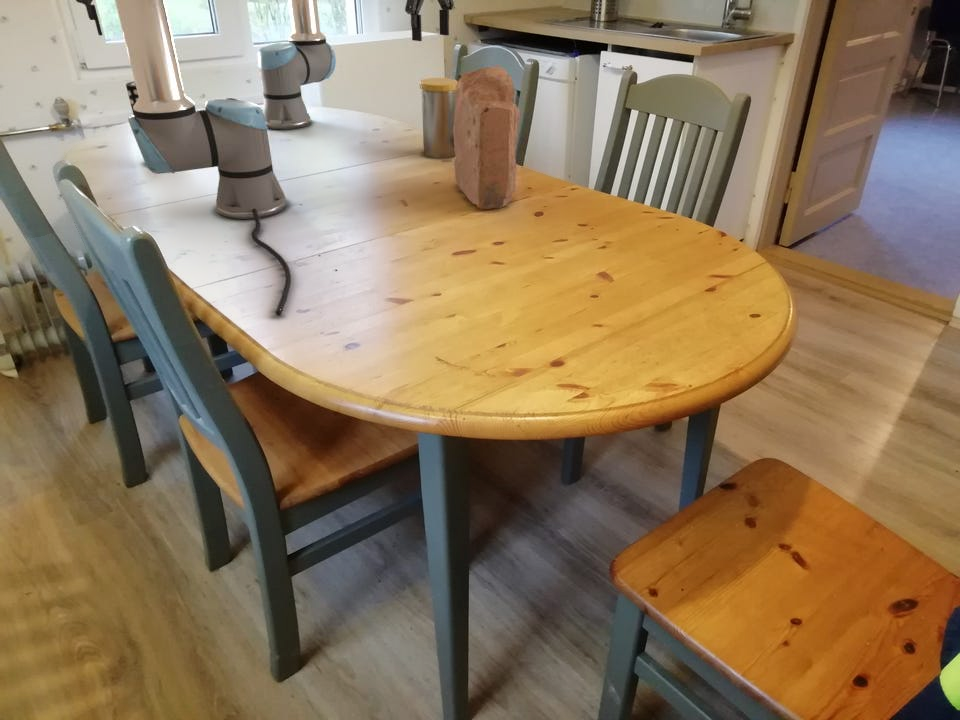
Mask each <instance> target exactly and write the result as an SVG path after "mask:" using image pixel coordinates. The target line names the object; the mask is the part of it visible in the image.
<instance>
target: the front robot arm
mask: <svg viewBox="0 0 960 720" xmlns="http://www.w3.org/2000/svg"><path fill="white" fill-rule="evenodd" d="M75 1H76V2H77V3H79V4H82V5H84V6H85V9H86V12H87V13H86V14H87V16H88V18H89V20H90V21H94V23H95V27H96V31H97V34H98V36H100V37H101V36H103V32H102V28H101V24H100V20H99V16H98V13H97V9H96V6H95V4H92V2H93V1H94V0H75ZM165 1H166V0H114V2H115V6H116V10H117V14H118V19H119V23H120V26H121V31H122V35H123V39H124V42H125V46H126V51H127V55H128V59H129V63H130V67H131V72H132V75H133V76H132V77H133V79H134V80H133V81H135V84H136V88H137V92H138V96H139V98H138V100H137V102H136V103H135V104H134V106H133V110H134V114H135V116H134V115H131V116H129V117H128V119H127V121H128V123H129V126H130V128H131V131H132V134H133V137H134V139H135V142H136V144H137V147H138V149H139V151H140V153H141V156H142V159H143V161H144V163H145V165H146V168H147V169H148V170H149V171H150V172H151V173H153V174H158V175H161V174H170V173H171V174H176V173H179V172H186V171H187V172H188V171H195V170H201V169H202V170H203V169H208V168H215V167H217V169H218V170H217V172H218V185H217V193H216V201H215V203H216V204H215V206H216V210H217V213H218V214H219V215H221V216H223V217H225V218H229V219H236V220H253V219H254V222H255V227H254V229H253V231H252V233H251V239H252V240H253V242H254V243H255V244H257V245H258V246H260V247H261V248H263V249H264V250H266V251H267V252H268V253H270V254H271V255H272V256H273V257H275V259H276V260H277V261H278V262H279V263H280V265H281V267H282V268H283V271H284V275H285V276H284V277H285V281H284V282H285V283H284V287H283V290H282V293H281V297H280V300H279V302H278V305H277V307H276V310H277V311H276V310H275V315H276V316H281V315H282V312H283V310H284V307H285V304H286V302H287V300H288V297H289V296H288V295H289V292H290V288H291V283H292V276H291V271H290V267H289V265H288V263H287V262H286V261H285V259H284V258H283V256H281V254H279V253H278V252H277V251H276V250H274V249H273V248H272V247H271V246H270V245H268V244H267V243H266V242H264V241H262V240H260V239H259V238H258V236H257V235H258V233H259V231H260V229H261V220H260V218H261V219H262V218H265V217H266V218H267V217H270V216H274V215H276V214H278V213H280V212H282V211H283V210H285V209H286V207H287V199H286V194H285V193H284V191H283V189H282V187H281V184H280V182H279V180H278V179H277V177H276V175H275V172H274V167H273V160H272V154H271V147H270V140H269V135H268V129H269V128H268V127H267V125H266V121H265V116H264V112H263V108H261V107H260V106H259V105H258V104H255V103H253V102H249V101H244V100H239V99H237V100H227V99H226V98H224V99H222V98H221V99H214V100H213V99H212V100H211V99H209V100H207V101H206V102H205V104H204V109H199V110H197V109H196V104H195V102H194V101H193V100H192V99H191V98H190V97H188V96H186V94H185V90H184V85H183V81H182V77H181V76H182V75H181V72H180V67H179V62H178V57H177V53H176V48H175V43H174V38H173V33H172V29H171V23H170V21H169V15H168V9H167V6H166V2H165ZM280 309H281V310H280Z"/></svg>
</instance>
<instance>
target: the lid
mask: <svg viewBox="0 0 960 720" xmlns="http://www.w3.org/2000/svg"><path fill="white" fill-rule="evenodd" d="M457 83H458V80H457V79H454V78H449V77H429V78H423V79H421V80H419V89H420V90H421V91H422V90H425V91H433V92H445V91H452V90H455V87H456V85H457Z"/></svg>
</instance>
